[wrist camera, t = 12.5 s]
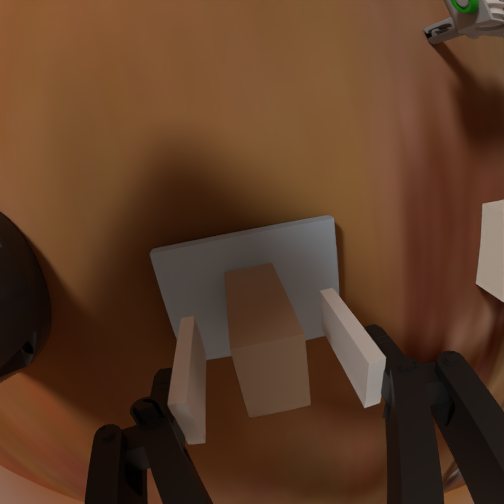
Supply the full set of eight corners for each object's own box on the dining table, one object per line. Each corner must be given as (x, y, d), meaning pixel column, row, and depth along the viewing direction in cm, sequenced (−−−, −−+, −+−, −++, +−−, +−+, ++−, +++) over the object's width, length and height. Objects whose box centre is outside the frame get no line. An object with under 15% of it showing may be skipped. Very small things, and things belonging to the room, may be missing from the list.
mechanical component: (473, 51, 17) (557, 37, 8) (389, 55, 17) (484, 20, 8) (462, 22, 16) (541, -1, 7) (374, 20, 16) (459, -31, 7)
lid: (187, 349, 23) (177, 450, 14) (154, 244, 20) (110, 321, 11) (332, 319, 24) (386, 406, 14) (324, 212, 21) (401, 263, 11)
